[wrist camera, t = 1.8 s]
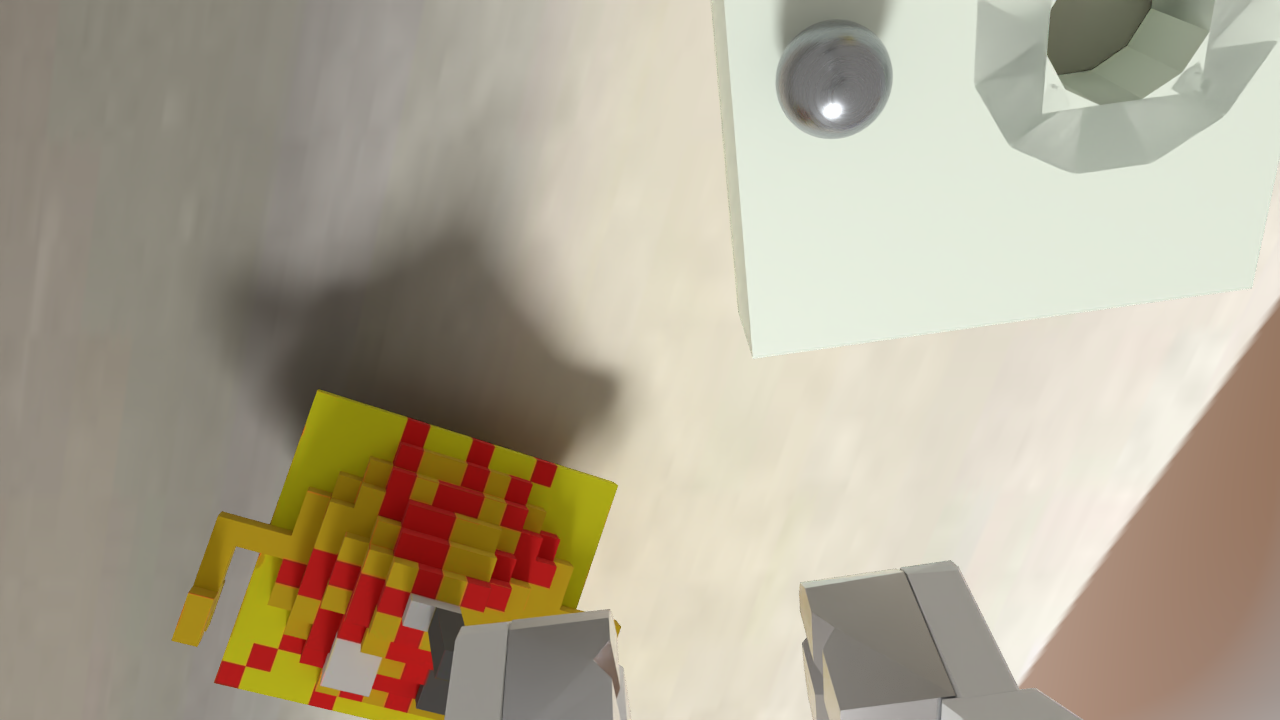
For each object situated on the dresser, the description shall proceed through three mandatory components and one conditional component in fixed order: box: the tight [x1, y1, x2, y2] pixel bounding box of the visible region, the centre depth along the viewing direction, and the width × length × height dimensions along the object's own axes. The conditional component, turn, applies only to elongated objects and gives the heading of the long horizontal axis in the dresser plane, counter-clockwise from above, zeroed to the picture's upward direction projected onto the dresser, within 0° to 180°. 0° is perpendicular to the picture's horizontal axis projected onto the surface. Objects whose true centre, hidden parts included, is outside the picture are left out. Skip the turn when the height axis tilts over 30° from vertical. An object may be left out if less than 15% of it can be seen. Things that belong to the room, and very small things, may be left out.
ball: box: [775, 19, 893, 139], centre depth 26 cm, size 3×3×3 cm
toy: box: [171, 389, 621, 720], centre depth 32 cm, size 14×10×15 cm
